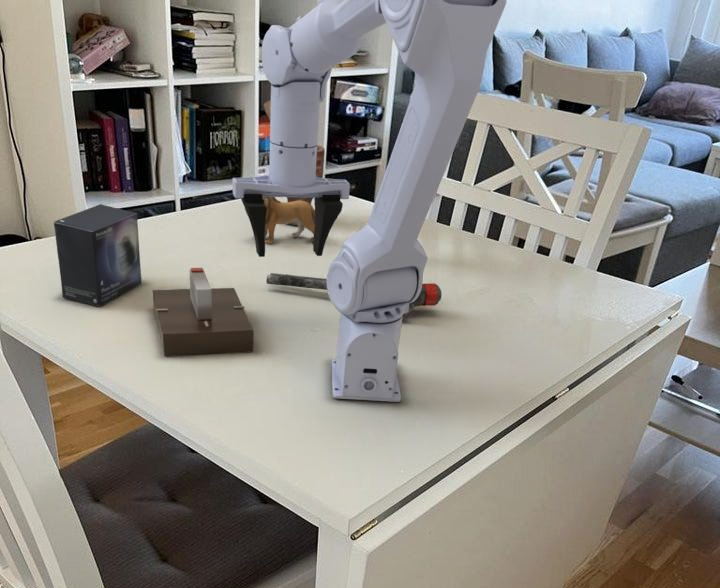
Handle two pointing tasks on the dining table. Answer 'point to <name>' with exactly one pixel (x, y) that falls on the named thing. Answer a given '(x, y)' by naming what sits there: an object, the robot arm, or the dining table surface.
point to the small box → (98, 254)
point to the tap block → (201, 324)
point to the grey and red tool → (426, 297)
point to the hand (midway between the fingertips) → (289, 253)
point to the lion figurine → (287, 216)
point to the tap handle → (200, 294)
